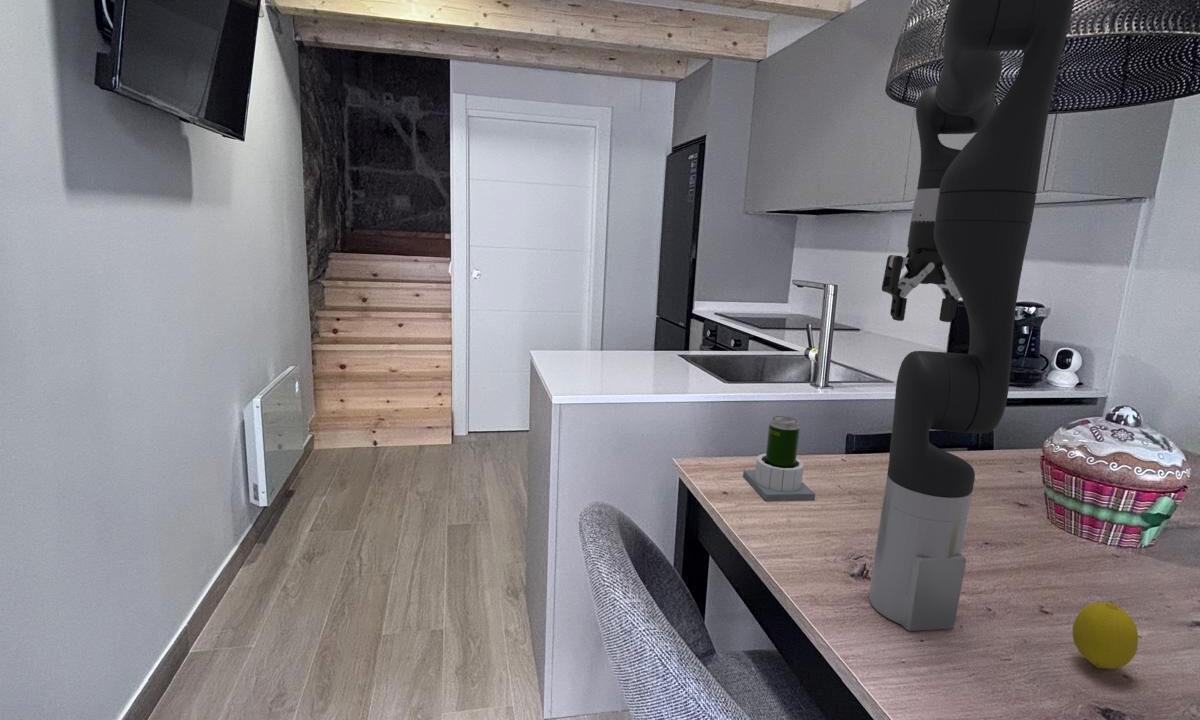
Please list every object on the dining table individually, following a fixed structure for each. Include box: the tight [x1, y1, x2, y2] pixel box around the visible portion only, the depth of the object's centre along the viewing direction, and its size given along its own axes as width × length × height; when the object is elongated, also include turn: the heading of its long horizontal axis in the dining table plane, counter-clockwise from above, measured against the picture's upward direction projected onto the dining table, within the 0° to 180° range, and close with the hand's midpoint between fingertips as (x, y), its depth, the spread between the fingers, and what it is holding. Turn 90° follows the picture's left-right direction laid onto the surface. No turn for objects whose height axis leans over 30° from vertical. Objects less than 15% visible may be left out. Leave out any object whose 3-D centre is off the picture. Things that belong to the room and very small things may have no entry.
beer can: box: [765, 415, 801, 468], centre depth 112 cm, size 5×5×12 cm
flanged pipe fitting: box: [742, 452, 816, 502], centre depth 113 cm, size 11×9×5 cm
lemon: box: [1072, 601, 1139, 669], centre depth 68 cm, size 6×6×8 cm
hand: (921, 320), depth 100 cm, fingers open, 8 cm apart
